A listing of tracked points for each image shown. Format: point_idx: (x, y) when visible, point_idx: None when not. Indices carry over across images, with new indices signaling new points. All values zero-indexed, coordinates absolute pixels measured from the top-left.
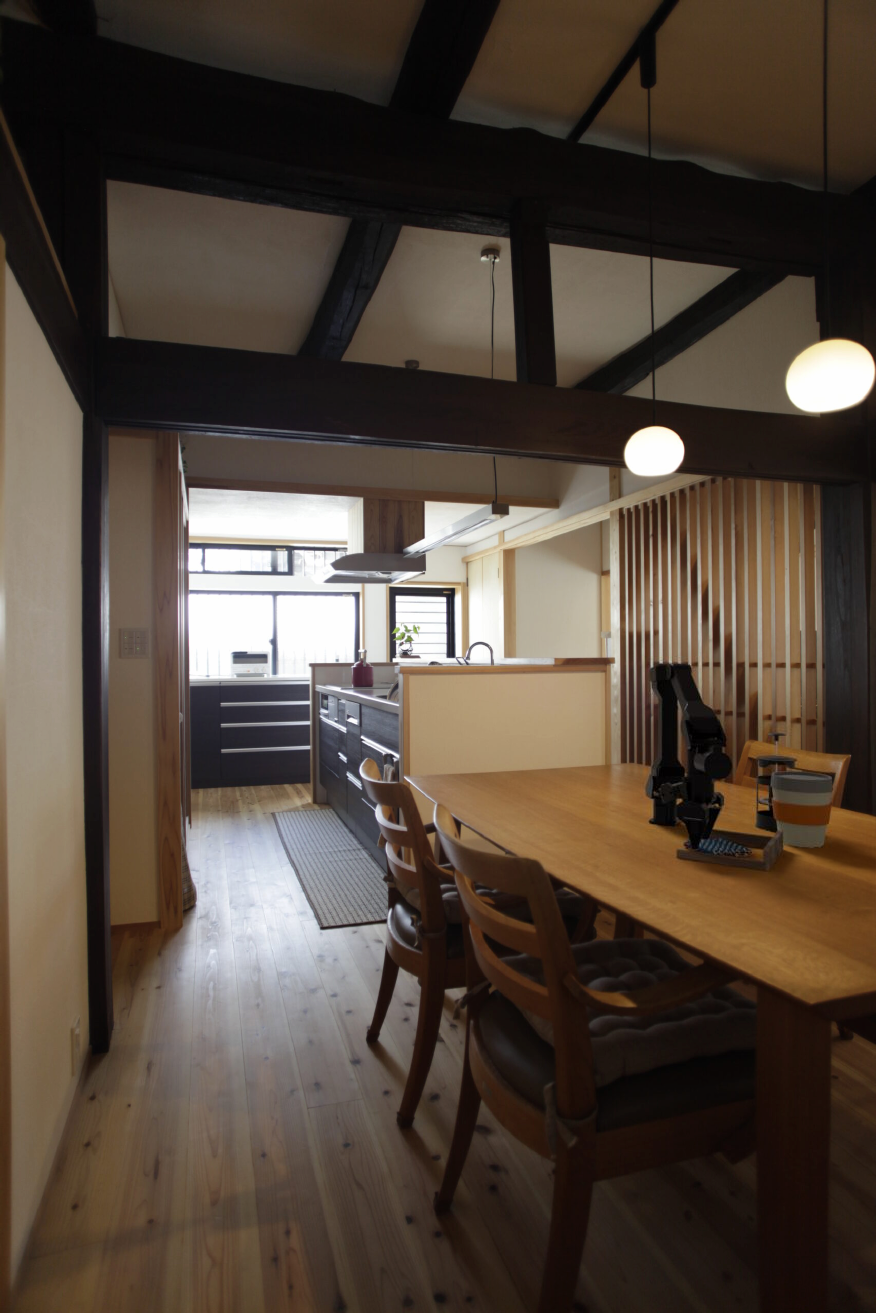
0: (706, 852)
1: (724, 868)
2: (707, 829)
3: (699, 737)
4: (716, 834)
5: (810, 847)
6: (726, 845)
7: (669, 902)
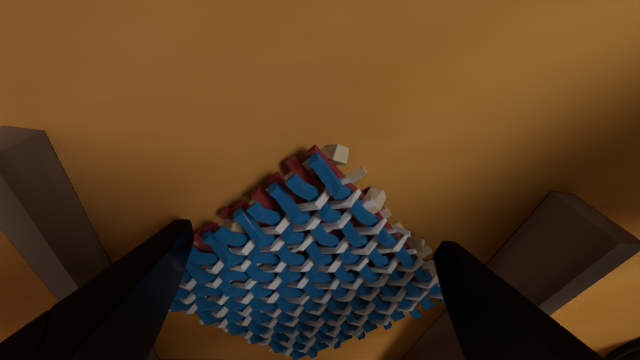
0: None
1: (52, 306)
2: (465, 316)
3: None
4: (516, 288)
5: None
6: (325, 318)
7: None
